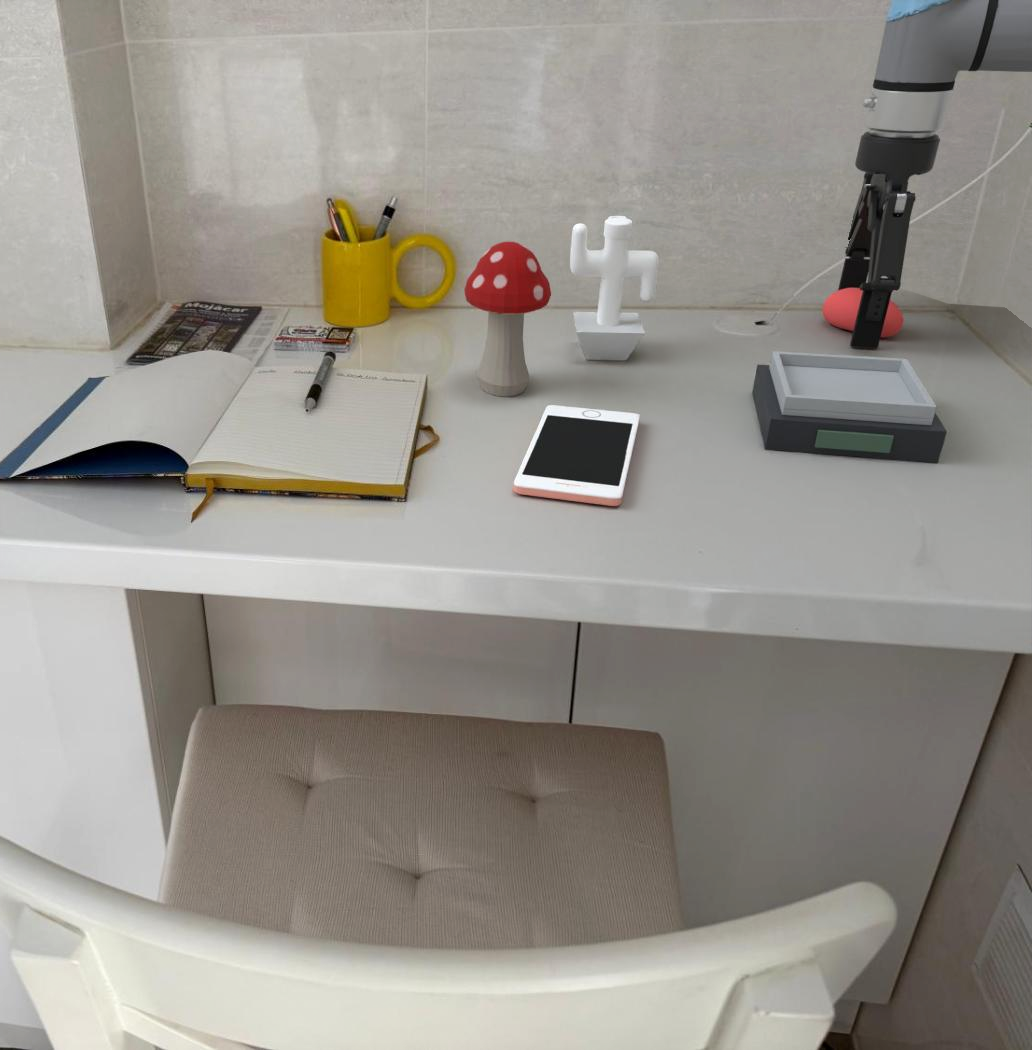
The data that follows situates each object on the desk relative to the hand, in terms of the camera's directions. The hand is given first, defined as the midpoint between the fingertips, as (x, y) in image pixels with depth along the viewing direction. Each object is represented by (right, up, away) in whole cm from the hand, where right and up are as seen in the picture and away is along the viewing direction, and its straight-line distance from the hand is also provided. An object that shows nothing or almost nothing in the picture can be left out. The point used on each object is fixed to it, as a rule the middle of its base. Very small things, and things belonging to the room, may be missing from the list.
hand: (854, 329), depth 116 cm
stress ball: (0, 0, 0) cm, 0 cm away
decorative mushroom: (-43, -8, -11) cm, 45 cm away
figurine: (-30, -4, -4) cm, 31 cm away
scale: (-14, -13, -23) cm, 30 cm away
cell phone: (-39, -17, -27) cm, 50 cm away
